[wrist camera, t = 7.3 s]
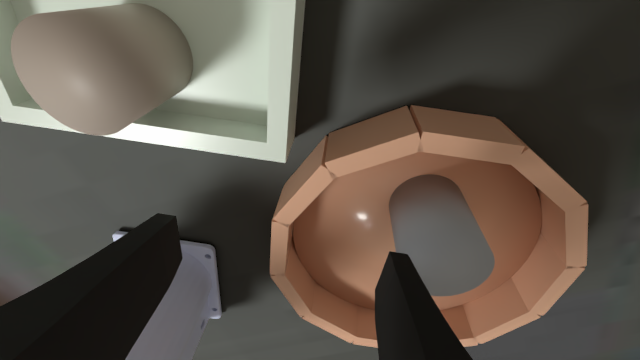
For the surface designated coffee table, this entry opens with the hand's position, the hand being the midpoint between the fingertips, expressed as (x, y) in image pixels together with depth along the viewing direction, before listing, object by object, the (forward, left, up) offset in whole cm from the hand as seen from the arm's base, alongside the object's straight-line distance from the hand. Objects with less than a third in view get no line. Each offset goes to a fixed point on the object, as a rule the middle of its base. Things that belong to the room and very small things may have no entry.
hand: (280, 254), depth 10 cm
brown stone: (+4, +8, -8) cm, 13 cm away
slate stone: (-3, -8, -8) cm, 12 cm away
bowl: (-6, -8, -9) cm, 13 cm away
